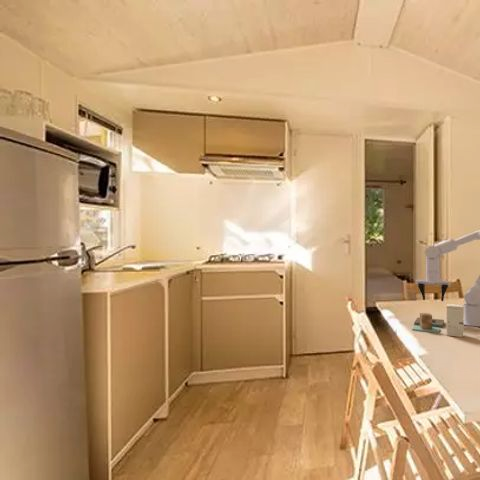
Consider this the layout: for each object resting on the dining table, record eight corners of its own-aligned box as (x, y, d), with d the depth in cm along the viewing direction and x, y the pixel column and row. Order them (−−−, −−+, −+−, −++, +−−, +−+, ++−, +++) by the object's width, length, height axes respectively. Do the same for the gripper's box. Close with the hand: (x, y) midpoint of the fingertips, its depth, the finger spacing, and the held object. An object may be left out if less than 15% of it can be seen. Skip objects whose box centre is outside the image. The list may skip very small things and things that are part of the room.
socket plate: (443, 322, 175) (443, 319, 175) (441, 327, 166) (441, 325, 166) (417, 319, 181) (417, 317, 181) (414, 325, 172) (414, 322, 172)
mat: (440, 329, 164) (440, 327, 164) (438, 333, 158) (438, 331, 158) (414, 326, 169) (414, 325, 169) (412, 330, 163) (412, 328, 163)
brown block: (430, 327, 165) (429, 313, 165) (432, 329, 161) (432, 315, 161) (419, 326, 166) (419, 313, 166) (421, 329, 162) (421, 315, 162)
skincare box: (446, 335, 154) (445, 305, 153) (446, 333, 158) (446, 303, 157) (464, 337, 151) (463, 306, 150) (463, 334, 154) (463, 304, 154)
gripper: (450, 270, 179) (451, 300, 179) (416, 270, 186) (417, 297, 187) (450, 272, 173) (450, 302, 173) (414, 271, 180) (415, 300, 181)
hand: (433, 300), depth 179 cm, fingers open, 7 cm apart
